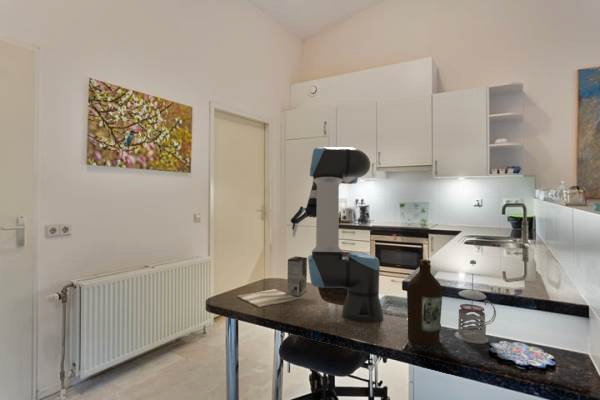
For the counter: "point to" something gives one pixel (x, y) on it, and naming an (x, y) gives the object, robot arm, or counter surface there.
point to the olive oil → (424, 306)
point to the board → (267, 298)
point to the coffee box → (297, 276)
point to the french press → (473, 317)
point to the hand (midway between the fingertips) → (306, 238)
